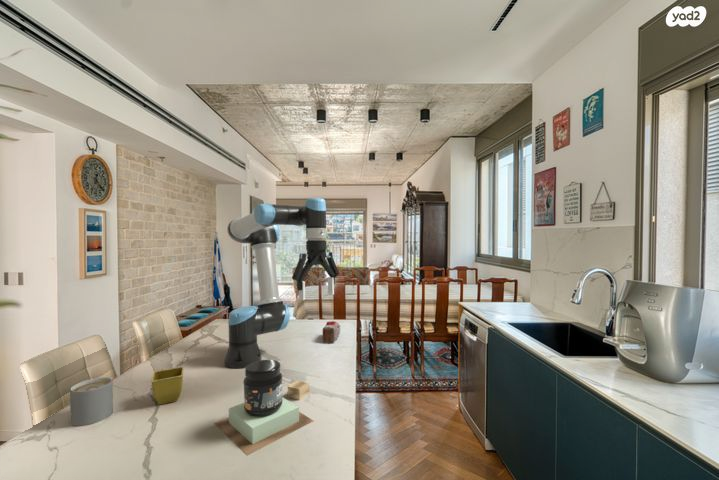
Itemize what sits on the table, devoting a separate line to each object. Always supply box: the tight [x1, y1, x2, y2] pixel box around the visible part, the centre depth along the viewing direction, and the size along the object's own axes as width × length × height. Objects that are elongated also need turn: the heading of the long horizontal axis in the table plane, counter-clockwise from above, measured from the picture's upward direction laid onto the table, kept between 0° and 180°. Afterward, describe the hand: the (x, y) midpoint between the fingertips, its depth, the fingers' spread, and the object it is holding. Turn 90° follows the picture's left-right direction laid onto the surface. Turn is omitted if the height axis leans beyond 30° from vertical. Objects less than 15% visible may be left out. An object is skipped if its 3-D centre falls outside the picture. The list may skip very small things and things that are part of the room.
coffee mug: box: [69, 376, 114, 427], centre depth 100 cm, size 13×10×10 cm
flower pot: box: [150, 366, 184, 405], centre depth 108 cm, size 9×9×9 cm
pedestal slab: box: [228, 396, 300, 444], centre depth 91 cm, size 14×14×4 cm
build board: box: [213, 411, 314, 456], centre depth 91 cm, size 20×20×2 cm
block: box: [287, 380, 310, 401], centre depth 107 cm, size 5×5×5 cm
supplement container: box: [243, 359, 283, 416], centre depth 91 cm, size 10×10×12 cm
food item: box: [321, 320, 341, 344], centre depth 171 cm, size 14×8×10 cm, turn 174°
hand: (317, 296), depth 120 cm, fingers open, 13 cm apart
